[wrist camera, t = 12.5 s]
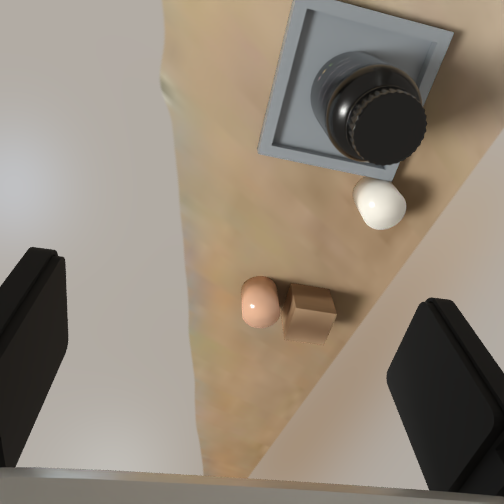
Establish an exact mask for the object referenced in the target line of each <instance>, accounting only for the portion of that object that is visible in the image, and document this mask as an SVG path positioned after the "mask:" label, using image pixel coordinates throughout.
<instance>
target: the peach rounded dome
mask: <svg viewBox="0 0 504 504" xmlns="http://www.w3.org/2000/svg"><path fill="white" fill-rule="evenodd" d="M241 295H242V317H243V319H244V321H245V322H246V323H247V324H248V325H250V326H252V327H256V328H265V327H269V326H271V325H273V324H274V323H275V322H276V321H277V320H278V319H279V316H280V307H279V300H278V294H277V287H276V285H275V283H274V282H273V281H272V280H271V279H269V278H267V277H263V276H256V277H252V278H250V279H248V280H247V281H246V282H245V283H244V284H243V286H242V289H241Z"/></svg>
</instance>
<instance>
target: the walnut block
mask: <svg viewBox="0 0 504 504" xmlns="http://www.w3.org/2000/svg"><path fill="white" fill-rule="evenodd" d="M336 316H337V312H336V309H335V306H334V303H333V300H332V297H331V294H330V291H329V289H325V288H319V287H313V286H307V285H301V284H294V283H291V284H290V287H289V290H288V293H287V296H286V299H285V302H284V305H283V308H282V311H281V319H282V326H283V333H284V339H285V340H289V341H296V342H303V343H310V344H317V345H324V344H325V342H326V340H327V337H328V335H329V332H330V330H331V328H332V325H333V323H334V321H335V318H336Z"/></svg>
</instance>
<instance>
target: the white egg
mask: <svg viewBox="0 0 504 504" xmlns="http://www.w3.org/2000/svg"><path fill="white" fill-rule="evenodd" d="M353 201H354V203H355V205H356V206H357V208H358V210H359V212H360V214H361V215H362V217H363V219H364V221H365V222H366V224H367V225H368V226H370V227H371V228H374V229H379V230H383V229H388V228H391V227H393V226H395V225H396V224H397V223H399V222H400V220H401V219H402V218H403V216H404V214H405V212H406V202H405V199H404V198H403V196H402V195H401V194H400V192H399V191H398V190H397V189H396V187H395V186H394V185H393V184H392V182H391V181H386V180H381V179H376V178H371V177H367V176H365V177H363V178H362V179H361V180H359V181H358V183H357V184H356V185H355V187H354V190H353Z"/></svg>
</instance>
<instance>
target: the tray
mask: <svg viewBox="0 0 504 504" xmlns="http://www.w3.org/2000/svg"><path fill="white" fill-rule="evenodd" d="M453 34H454V32H450V31H447V30H443V29H439V28H436V27H432V26H428V25H425V24H421V23H417V22H414V21H410V20H406V19H402V18H399V17H395V16H391V15H388V14H384V13H380V12H377V11H373V10H369V9H366V8H362V7H358V6H354V5H351V4H347V3H343V2H340V1H336V0H293V2H292V6H291V10H290V14H289V19H288V23H287V27H286V31H285V35H284V39H283V44H282V48H281V52H280V56H279V60H278V64H277V68H276V73H275V77H274V81H273V85H272V89H271V93H270V97H269V102H268V106H267V110H266V114H265V118H264V122H263V127H262V131H261V135H260V139H259V143H258V147H257V150H258V154H261V155H266V156H271V157H275V158H280V159H285V160H290V161H295V162H299V163H304V164H309V165H314V166H319V167H323V168H328V169H333V170H338V171H343V172H347V173H352V174H357V175H362V176H367V177H371V178H376V179H381V180H386V181H391V182H392V180H393V177H394V175H395V173H396V170H397V168H398V165H399V163H400V162H399V163H397V164H392V165H385V166H382V165H375V164H374V163H369V162H368V163H367V162H358V161H354V160H352V159H349V158H347V157H346V156H344V155H343V154H341V153H340V152H339V151H338V150H337V149H336V148H335V147H334V145H333V144H332V143H331V141H330V139H329V138H328V136H327V135H326V133H325V132H324V130H323V129H322V127H321V125H320V124H319V122H318V121H317V119H316V117H315V115H314V113H313V110H312V107H311V99H310V95H311V88H312V84H313V81H314V79H315V77H316V75H317V73H318V72H319V70H320V69H321V68H322V66H323V65H324V64H325V63H326V62H328V61H329V60H330V59H332V58H333V57H335V56H337V55H339V54H342V53H345V52H353V51H356V52H364V53H367V54H369V55H372V56H374V57H376V58H379V59H381V60H383V61H385V62H387V63H389V64H391V65H393V66H396V67H398V68H400V69H401V70H403V71H404V72H406V73H407V74H408V75H409V76H410V77H411V78H412V79H413V80H414V81H415V83H416V85H417V86H418V89H419V91H420V94H421V98H422V107H423V106H424V103H425V101H426V99H427V96H428V94H429V91H430V89H431V87H432V84H433V82H434V80H435V77H436V75H437V72H438V70H439V68H440V65H441V63H442V60H443V58H444V56H445V53H446V51H447V49H448V46H449V44H450V41H451V39H452V37H453Z"/></svg>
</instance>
